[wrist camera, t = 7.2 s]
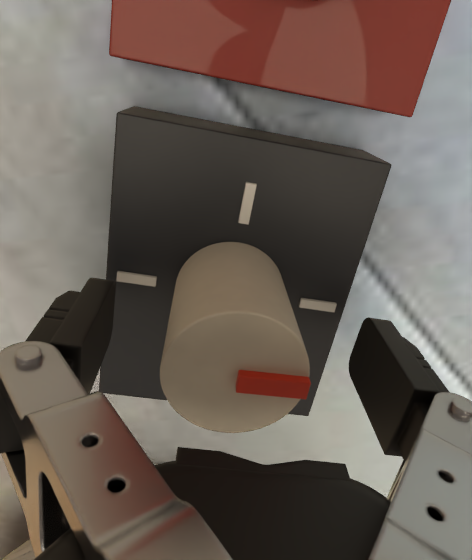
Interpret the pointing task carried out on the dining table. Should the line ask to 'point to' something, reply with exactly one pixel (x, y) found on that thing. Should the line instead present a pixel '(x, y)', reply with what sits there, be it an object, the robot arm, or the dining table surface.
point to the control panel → (229, 228)
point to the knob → (233, 342)
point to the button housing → (290, 44)
